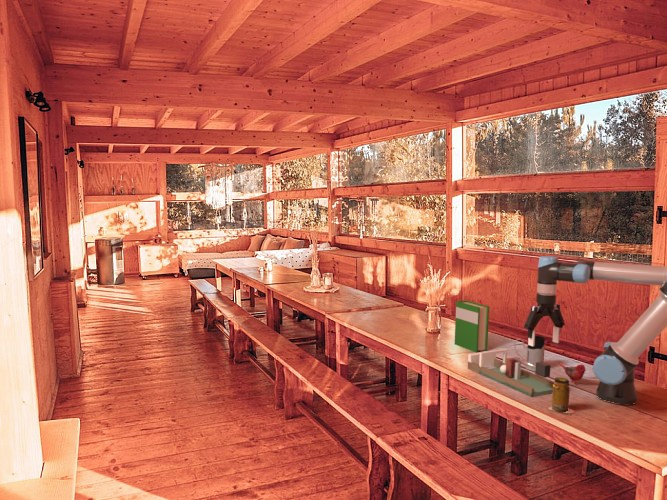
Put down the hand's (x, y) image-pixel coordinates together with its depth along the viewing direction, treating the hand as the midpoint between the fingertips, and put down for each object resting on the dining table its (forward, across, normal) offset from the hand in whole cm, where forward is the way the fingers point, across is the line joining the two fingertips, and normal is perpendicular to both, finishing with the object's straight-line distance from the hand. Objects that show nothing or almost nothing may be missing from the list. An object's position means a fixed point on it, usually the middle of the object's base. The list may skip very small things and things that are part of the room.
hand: (543, 344), depth 231 cm
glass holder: (+21, -20, -28) cm, 40 cm away
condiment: (+21, +7, +18) cm, 28 cm away
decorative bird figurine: (+21, -22, -5) cm, 31 cm away
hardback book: (+21, -16, -67) cm, 72 cm away
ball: (+17, +1, -21) cm, 27 cm away
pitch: (+21, +1, -17) cm, 27 cm away
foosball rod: (+19, +1, -7) cm, 20 cm away
